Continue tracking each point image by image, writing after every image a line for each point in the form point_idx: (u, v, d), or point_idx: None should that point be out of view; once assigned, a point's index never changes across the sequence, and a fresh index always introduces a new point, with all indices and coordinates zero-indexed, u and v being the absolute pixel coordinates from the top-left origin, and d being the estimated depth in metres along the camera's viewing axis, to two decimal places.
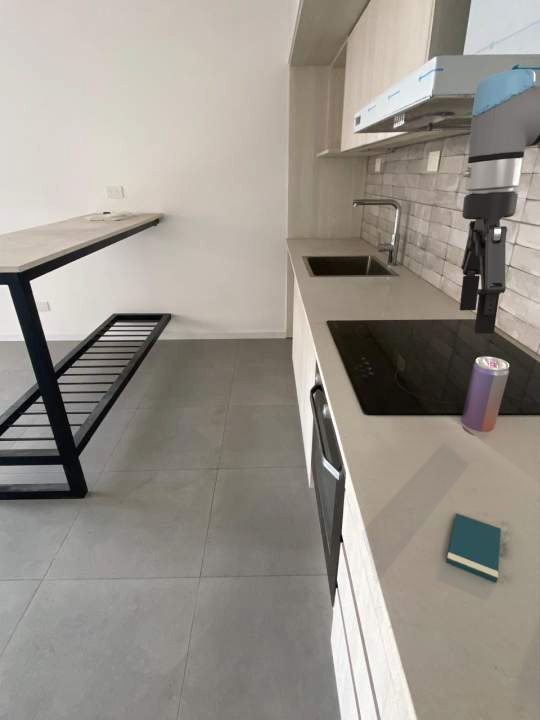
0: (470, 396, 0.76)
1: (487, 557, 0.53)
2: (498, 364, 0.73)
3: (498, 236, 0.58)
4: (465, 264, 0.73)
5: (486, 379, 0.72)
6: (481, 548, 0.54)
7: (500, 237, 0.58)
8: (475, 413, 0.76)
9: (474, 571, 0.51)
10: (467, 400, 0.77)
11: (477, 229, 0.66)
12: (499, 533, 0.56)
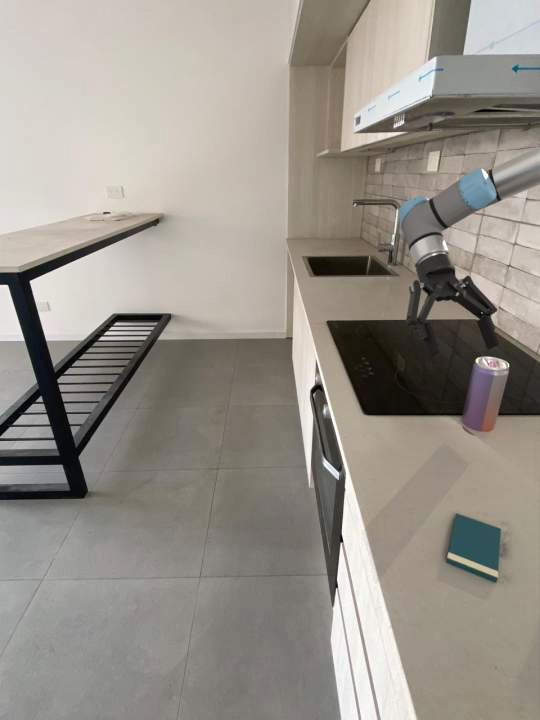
0: (470, 396, 0.76)
1: (487, 557, 0.53)
2: (498, 364, 0.73)
3: (412, 288, 0.84)
4: None
5: (486, 379, 0.72)
6: (481, 548, 0.54)
7: (413, 288, 0.84)
8: (475, 413, 0.76)
9: (474, 571, 0.51)
10: (467, 400, 0.77)
11: None
12: (499, 533, 0.56)
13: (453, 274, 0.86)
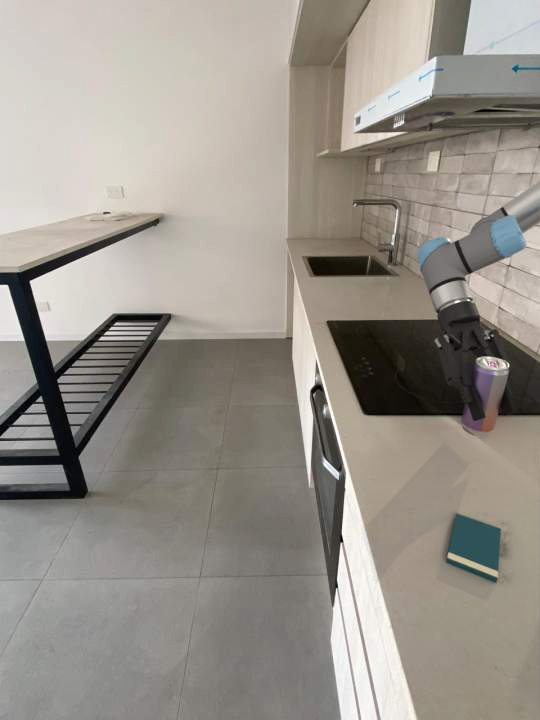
0: None
1: (487, 557, 0.53)
2: (498, 364, 0.73)
3: (439, 344, 0.78)
4: None
5: (486, 379, 0.72)
6: (481, 548, 0.54)
7: (440, 344, 0.78)
8: None
9: (474, 571, 0.51)
10: None
11: None
12: (499, 533, 0.56)
13: (477, 322, 0.80)
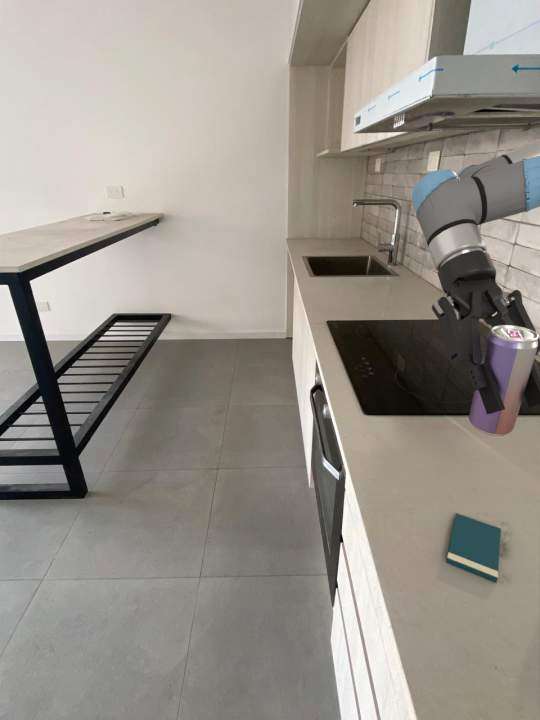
0: None
1: (487, 557, 0.53)
2: (523, 334, 0.52)
3: (440, 309, 0.57)
4: None
5: (507, 355, 0.51)
6: (481, 548, 0.54)
7: (441, 309, 0.57)
8: None
9: (474, 571, 0.51)
10: None
11: None
12: (499, 533, 0.56)
13: (493, 280, 0.59)
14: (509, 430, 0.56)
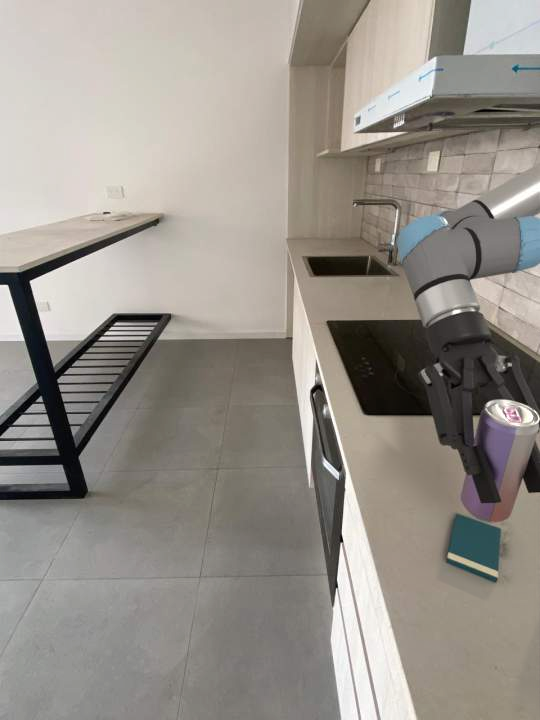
0: None
1: (487, 557, 0.53)
2: (522, 415, 0.45)
3: (427, 379, 0.50)
4: None
5: (503, 440, 0.44)
6: (481, 548, 0.54)
7: (429, 379, 0.50)
8: None
9: (474, 571, 0.51)
10: None
11: None
12: (499, 533, 0.56)
13: (487, 343, 0.52)
14: (506, 517, 0.49)
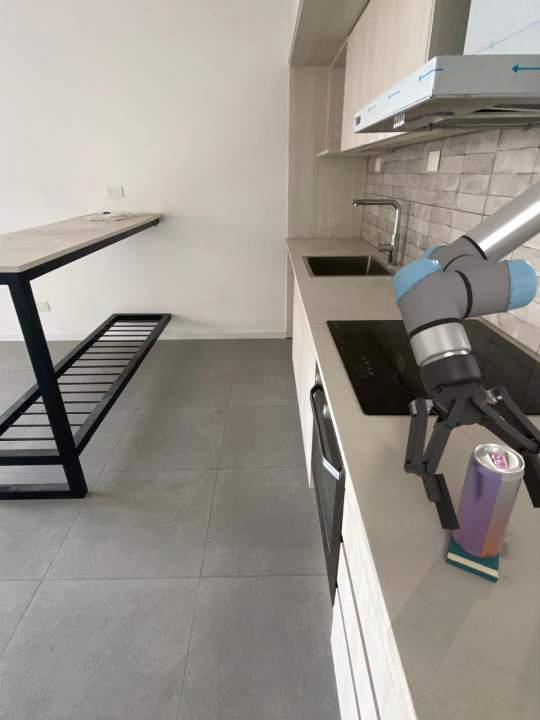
0: (465, 501, 0.51)
1: None
2: (508, 461, 0.48)
3: (414, 409, 0.53)
4: None
5: (490, 485, 0.47)
6: None
7: (416, 410, 0.53)
8: (473, 528, 0.51)
9: (474, 571, 0.51)
10: (461, 506, 0.52)
11: None
12: None
13: (478, 383, 0.55)
14: (494, 553, 0.52)
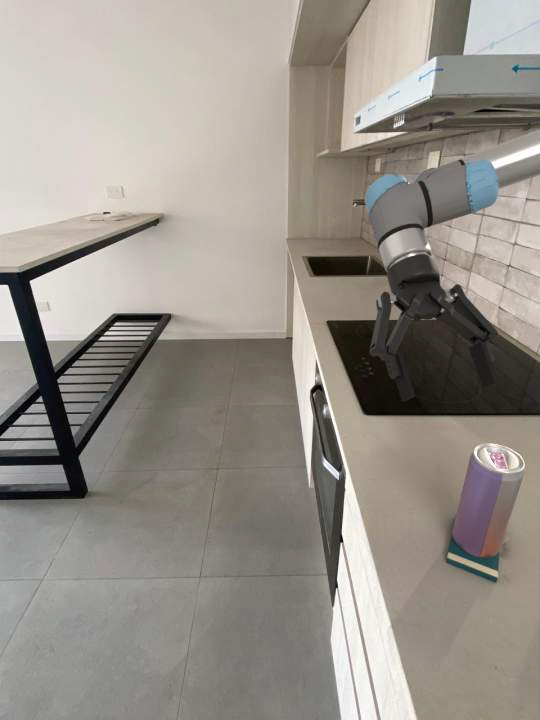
0: (465, 501, 0.51)
1: None
2: (508, 461, 0.48)
3: (380, 303, 0.60)
4: None
5: (490, 485, 0.47)
6: None
7: (381, 303, 0.60)
8: (473, 528, 0.51)
9: (474, 571, 0.51)
10: (461, 506, 0.52)
11: None
12: None
13: (437, 282, 0.62)
14: (494, 553, 0.52)
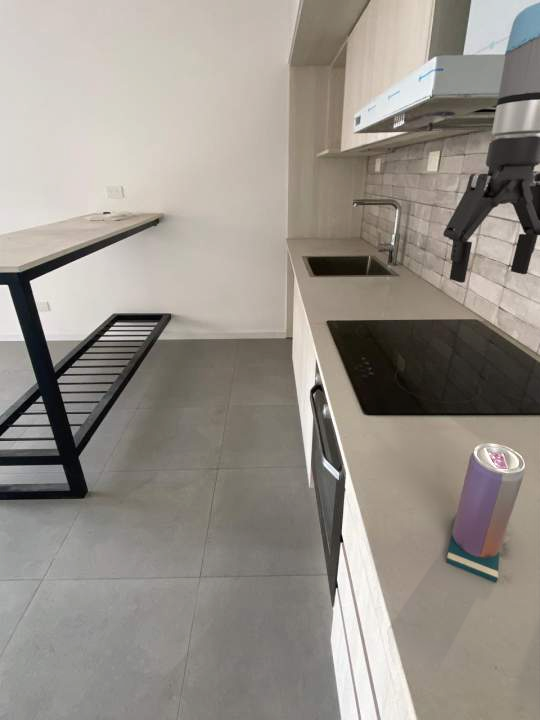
0: (465, 501, 0.51)
1: None
2: (509, 461, 0.48)
3: (474, 183, 0.60)
4: None
5: (490, 485, 0.47)
6: None
7: (476, 184, 0.60)
8: (473, 528, 0.51)
9: (474, 571, 0.51)
10: (461, 506, 0.52)
11: None
12: None
13: (532, 166, 0.61)
14: (495, 553, 0.52)
